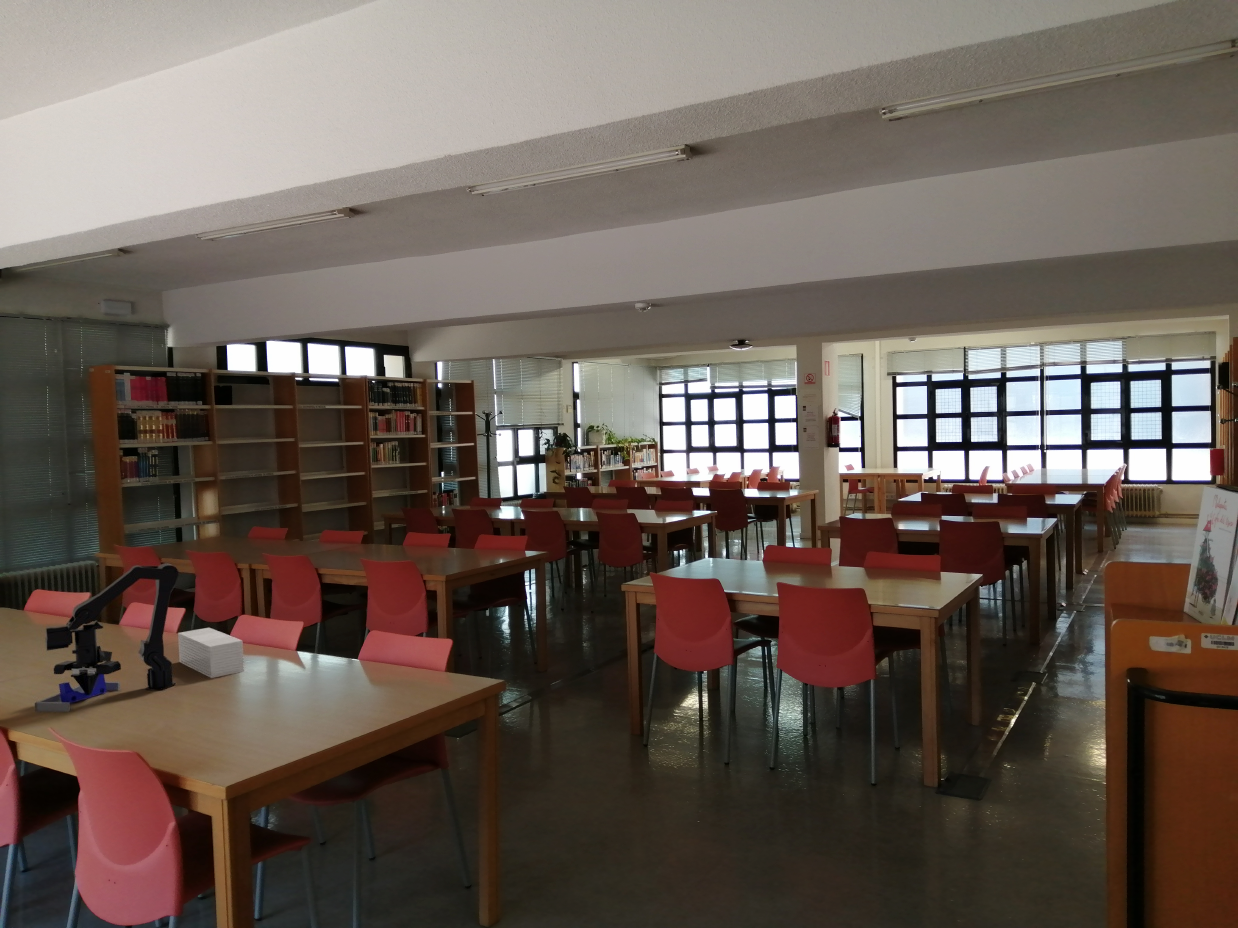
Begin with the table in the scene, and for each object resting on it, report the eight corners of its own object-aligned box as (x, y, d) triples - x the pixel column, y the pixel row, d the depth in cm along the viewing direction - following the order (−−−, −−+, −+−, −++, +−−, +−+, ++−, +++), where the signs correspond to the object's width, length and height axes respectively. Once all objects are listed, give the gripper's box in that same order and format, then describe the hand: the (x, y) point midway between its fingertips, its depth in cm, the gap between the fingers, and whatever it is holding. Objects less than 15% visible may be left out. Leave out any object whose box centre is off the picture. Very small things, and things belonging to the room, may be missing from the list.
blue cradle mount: (69, 702, 265) (66, 683, 265) (61, 703, 267) (58, 683, 267) (109, 692, 275) (106, 673, 275) (101, 692, 277) (98, 673, 278)
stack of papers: (244, 671, 297) (242, 640, 297) (211, 678, 290) (209, 646, 289) (210, 656, 320) (209, 627, 320) (179, 662, 313) (177, 632, 313)
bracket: (120, 689, 279) (119, 681, 279) (67, 711, 258) (67, 703, 258) (89, 689, 281) (89, 681, 281) (35, 711, 259) (34, 702, 259)
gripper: (131, 638, 275) (134, 687, 276) (78, 638, 278) (81, 687, 278) (106, 647, 264) (109, 698, 264) (50, 647, 267) (53, 697, 267)
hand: (88, 695), depth 269 cm, fingers closed
